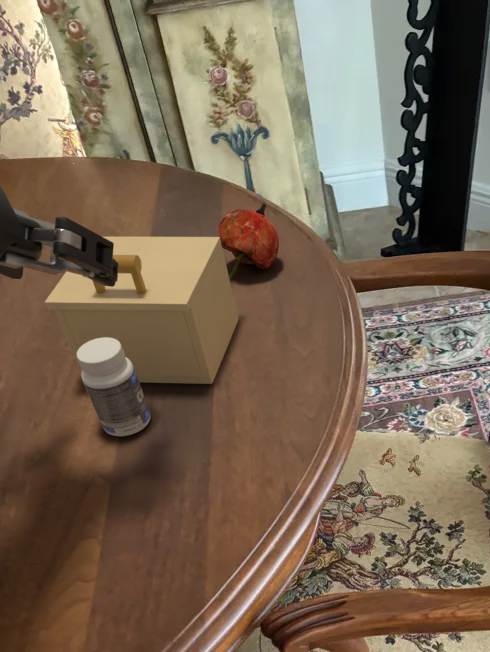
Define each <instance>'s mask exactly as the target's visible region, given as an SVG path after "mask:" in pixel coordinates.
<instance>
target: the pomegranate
mask: <svg viewBox="0 0 490 652" xmlns="http://www.w3.org/2000/svg"><path fill="white" fill-rule="evenodd" d="M266 208H267V204H266V203H265V202H264V203H262V204H261V206H260V207H259V208H258V209H257V210H254V209H241V208H239V209H235V210H233V211H229V212H227V213H226V214H225V215H224V216H223V217H222V218H221V219H220V221H219V223H218V226H217V227H218V229H217V237H220V240H221V245H222V249H223V250H226V251H228V252H230V253H232V255H233V257H234V258H235V259H236V261H235V263H234V266H233V267H232V269H231V272H230V273H229V274H228V276H229V280H231V279H232V278H233V275H234V273H236V271H237V270H238V266H239V263H240V262H241V263H243V264H248V265H255V266H256V267H257V268H258V269H262V270H267V269H268V268H270V267H271V265H273V263H274V261H275V260H276V258H277V257H278V254H279V248H280V243H279V240H280V239H279V235H278V231H277V229H276V227H275V226H274V224H273V223H272V222H271V221H270V220H269V219H268V217H267V216H266V215H265V211H266Z"/></svg>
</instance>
